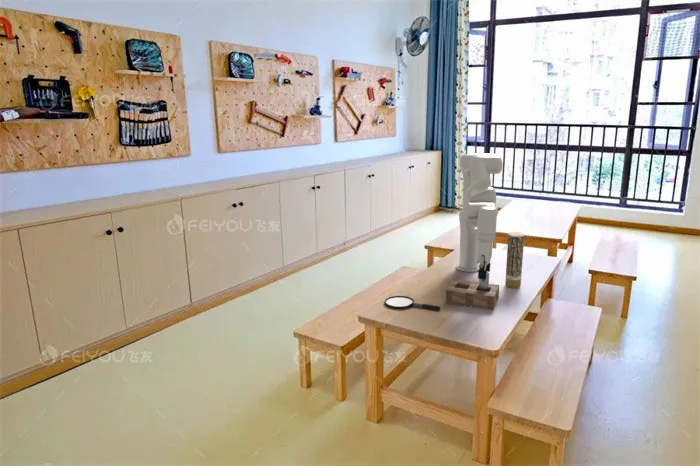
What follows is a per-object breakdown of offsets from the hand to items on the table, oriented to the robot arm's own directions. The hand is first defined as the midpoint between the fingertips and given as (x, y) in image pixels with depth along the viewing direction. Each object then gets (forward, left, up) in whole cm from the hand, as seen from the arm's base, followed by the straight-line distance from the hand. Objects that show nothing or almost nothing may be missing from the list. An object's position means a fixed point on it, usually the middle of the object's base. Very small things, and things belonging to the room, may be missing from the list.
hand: (484, 275), depth 205 cm
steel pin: (0, 0, -11) cm, 11 cm away
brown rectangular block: (0, -4, -12) cm, 13 cm away
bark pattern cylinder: (-24, +10, -12) cm, 28 cm away
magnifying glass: (+15, -27, -13) cm, 33 cm away
